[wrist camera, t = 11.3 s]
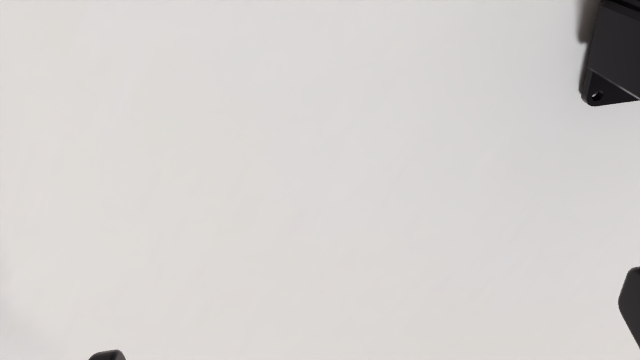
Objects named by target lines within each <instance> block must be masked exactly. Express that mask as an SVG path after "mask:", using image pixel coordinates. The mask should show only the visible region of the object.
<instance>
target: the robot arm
mask: <svg viewBox="0 0 640 360" xmlns="http://www.w3.org/2000/svg"><path fill="white" fill-rule="evenodd" d="M596 91H598V93H597V94H596V95H595V96H594V97H592V96H593V94H594V93H595V92H596ZM581 98H582V100H583V101H584V102H586V103H587V104H588V105H590V106H602V105H609V104H616V103H623V102H631V101H638V100H640V0H602V4H601V6H600V8H599V12H598V16H597V21H596V25H595V30H594V34H593V39H592V43H591V48H590V52H589V57H588V61H587V71H586V75H585V80H584V84H583V89H582V93H581ZM618 305H619V309H620V312H621V314H622V316H623V318H624V320H625V322H626V324H627V326H628V328H629V329H630V331H631V333H632V335H633V337H634V339H635V341H636V343H637V344H638V346H639V348H640V267H635V268H632V269H631V270H629V271H628V273H627V276H626V279H625V281H624V284H623V287H622V290H621V293H620V296H619V299H618ZM89 360H126V359H125V357H124V355H123V353H122V352H121V351H120V350H110V351H103V352H98V353H96V354H94V355H93V356H91V357H90V359H89Z"/></svg>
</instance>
